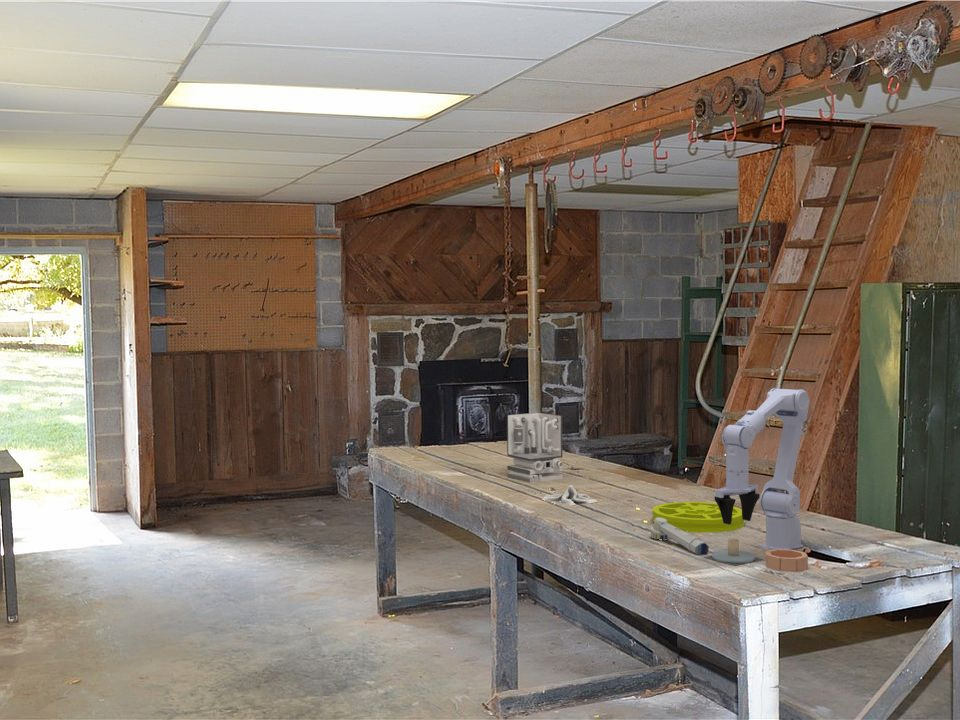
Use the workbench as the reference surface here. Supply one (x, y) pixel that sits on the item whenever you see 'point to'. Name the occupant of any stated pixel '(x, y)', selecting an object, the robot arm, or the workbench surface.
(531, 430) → the electrical transformer
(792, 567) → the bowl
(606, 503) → the workbench surface
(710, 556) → the mat
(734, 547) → the lid
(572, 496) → the cloth
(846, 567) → the workbench surface
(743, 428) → the robot arm
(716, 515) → the pulley
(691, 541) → the grey flashlight
